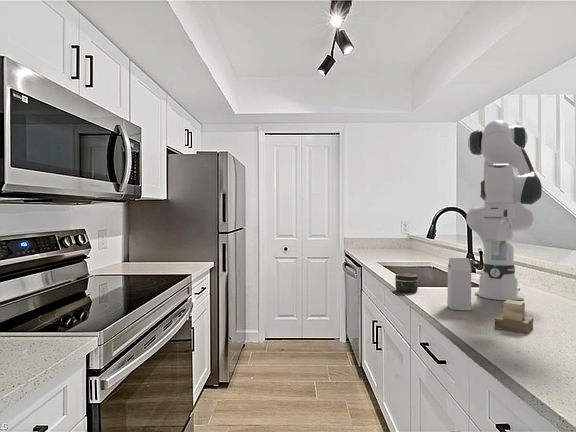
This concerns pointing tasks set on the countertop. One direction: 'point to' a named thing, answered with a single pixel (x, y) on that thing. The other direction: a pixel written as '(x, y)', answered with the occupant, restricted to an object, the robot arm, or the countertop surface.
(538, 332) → the countertop surface
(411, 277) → the jar
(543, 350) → the countertop surface
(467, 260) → the milk carton
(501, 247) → the ceramic cylinder
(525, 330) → the walnut pedestal
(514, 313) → the oak cube
